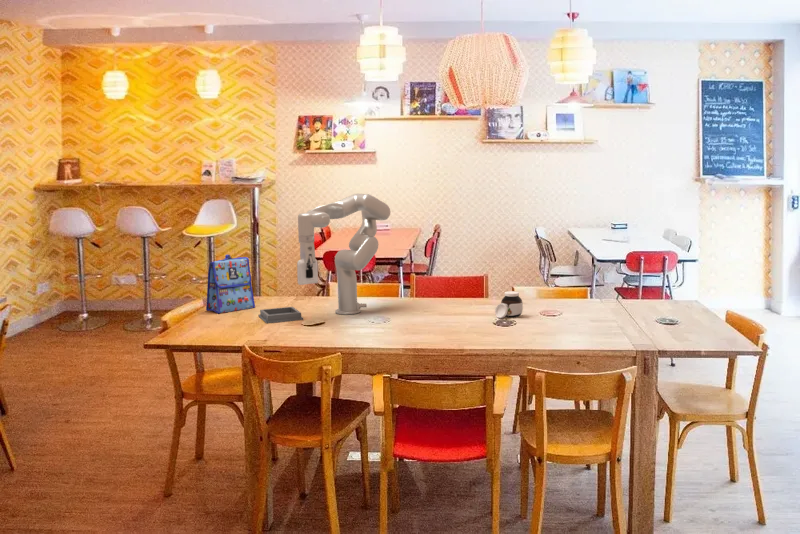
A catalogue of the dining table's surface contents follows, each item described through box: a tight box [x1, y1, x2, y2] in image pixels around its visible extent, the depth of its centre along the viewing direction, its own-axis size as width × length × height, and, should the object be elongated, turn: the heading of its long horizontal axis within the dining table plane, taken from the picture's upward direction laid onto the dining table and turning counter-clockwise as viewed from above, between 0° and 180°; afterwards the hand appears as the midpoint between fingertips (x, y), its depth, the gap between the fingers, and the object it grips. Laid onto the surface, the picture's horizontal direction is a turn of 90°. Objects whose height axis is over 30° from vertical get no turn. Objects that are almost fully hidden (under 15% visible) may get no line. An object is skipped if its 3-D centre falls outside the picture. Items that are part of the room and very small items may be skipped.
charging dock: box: [258, 306, 304, 325], centre depth 420 cm, size 18×18×4 cm
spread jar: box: [494, 290, 524, 319], centre depth 411 cm, size 12×11×12 cm
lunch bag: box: [205, 254, 256, 314], centre depth 443 cm, size 22×14×29 cm, turn 131°
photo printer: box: [296, 258, 319, 286], centre depth 410 cm, size 10×4×12 cm, turn 125°
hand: (307, 276), depth 410 cm, fingers closed on photo printer, 4 cm apart
